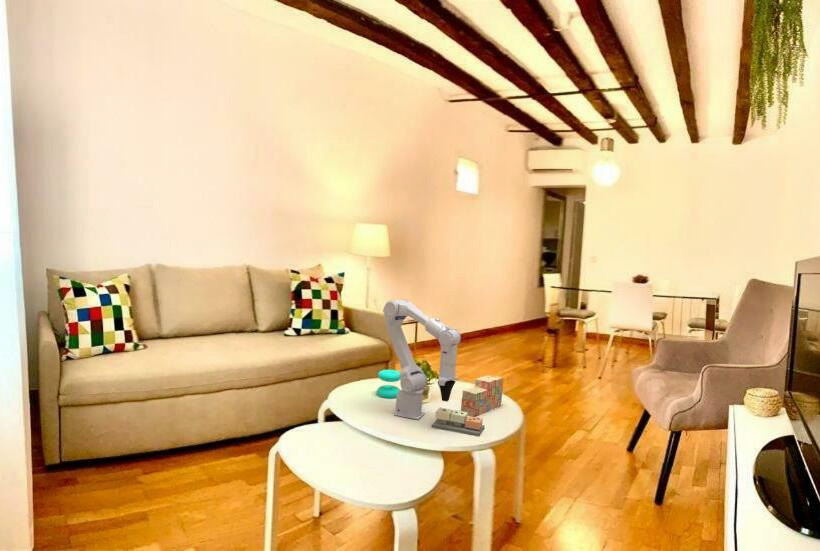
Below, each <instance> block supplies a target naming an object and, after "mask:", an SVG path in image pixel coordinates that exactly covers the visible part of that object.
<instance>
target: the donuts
mask: <svg viewBox="0 0 820 551" xmlns="http://www.w3.org/2000/svg"><path fill="white" fill-rule="evenodd" d="M400 372H401V371H398V370H394V369H383V370H380V371H379V372H378V374H377V376H378V379H379V380H381V381H383V382H386V383H396V382H399V381H400V377H399V374H400ZM399 390H401V389H400V388H399V387H398V386H396V385H392V384H390V385H389V384H386V385H384V384H383V385H381V386H379V387H377V389H376V393H377V396H379V397H382V398H385V399H394V398H397V394H398V391H399Z"/></svg>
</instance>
